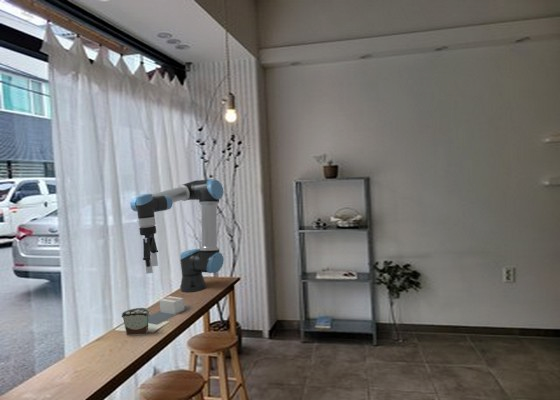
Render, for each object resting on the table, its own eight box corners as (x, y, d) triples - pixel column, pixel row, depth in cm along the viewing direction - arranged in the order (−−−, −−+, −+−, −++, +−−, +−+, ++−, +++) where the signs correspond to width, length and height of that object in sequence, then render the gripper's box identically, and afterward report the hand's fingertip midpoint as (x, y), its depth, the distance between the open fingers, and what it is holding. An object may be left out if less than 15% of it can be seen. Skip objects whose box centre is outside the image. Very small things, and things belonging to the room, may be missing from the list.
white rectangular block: (160, 311, 196) (159, 299, 196) (170, 307, 202) (169, 295, 201) (175, 314, 191) (173, 302, 191) (184, 309, 197) (183, 297, 196)
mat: (174, 304, 207) (174, 304, 207) (193, 307, 200) (193, 306, 200) (138, 321, 186) (137, 320, 186) (157, 325, 180) (157, 324, 179)
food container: (156, 328, 176) (154, 306, 175) (150, 334, 170) (148, 311, 169) (130, 329, 177) (127, 308, 177) (123, 335, 171) (121, 313, 170)
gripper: (144, 223, 199) (149, 264, 201) (133, 231, 174) (138, 277, 176) (160, 221, 200) (164, 262, 202) (150, 229, 175) (155, 275, 177)
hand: (152, 269), depth 189 cm, fingers open, 13 cm apart
